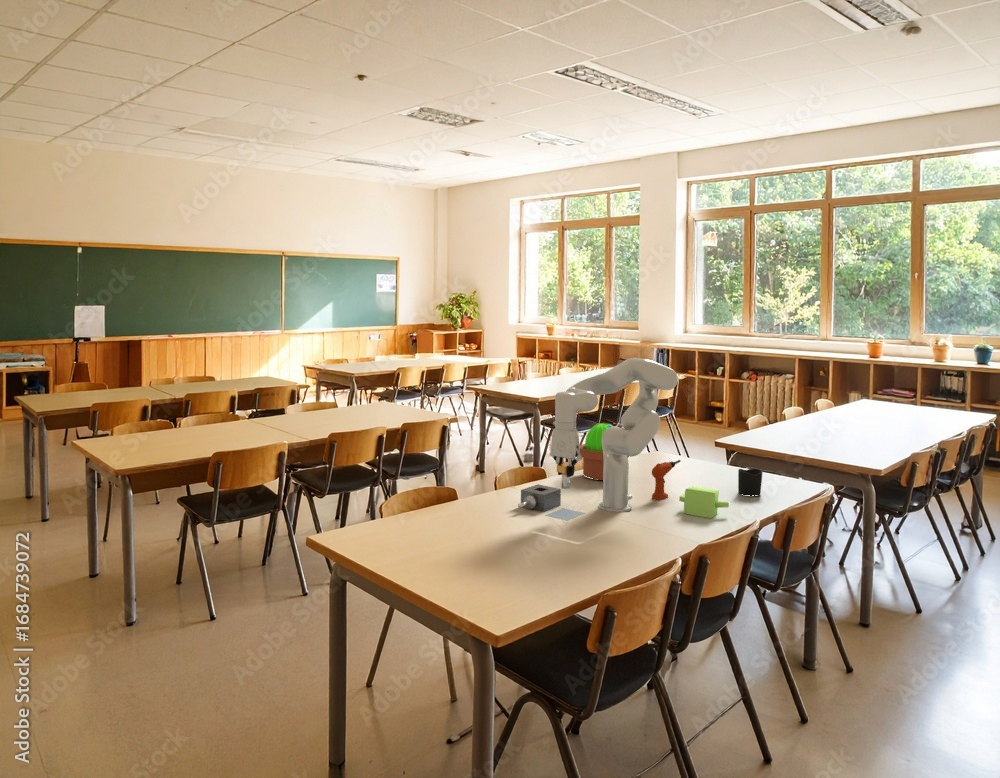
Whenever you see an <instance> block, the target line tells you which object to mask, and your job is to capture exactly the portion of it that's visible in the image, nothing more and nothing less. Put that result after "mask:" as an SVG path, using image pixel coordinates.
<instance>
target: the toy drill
mask: <svg viewBox="0 0 1000 778" xmlns="http://www.w3.org/2000/svg"><path fill="white" fill-rule="evenodd" d="M680 462H682V460H681V459H678V460H676V461H669V462H668V461H667V462H666V461H665V462H662V463H657V464H656V465H655V466H654V467H652V470H651V475H652V477H653V478H654V480H655V488H654V492H653V493H652V495H651V500H654V499H655V500H654V501H663V500H667V499H668V498H669V495H668V493H666V492H665V483H666V480H665V478H664V477H665V476H666V475H667V474H668V473H669V472H670V471H671V470H672V469H673V468H675V467H676V465H677V464H679V463H680ZM666 498H667V499H666ZM662 499H663V500H662Z"/></svg>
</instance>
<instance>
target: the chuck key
mask: <svg viewBox="0 0 1000 778" xmlns="http://www.w3.org/2000/svg"><path fill="white" fill-rule="evenodd" d="M568 466H569V462H568V461H566V462H563V463H562V464H559V465H558V464H556V473H558V472H560V473H562V475H561V489H563V490H569V489H570V488H571V477H568V476H567V472H568ZM575 470H576V464H575V465H574V471H575Z"/></svg>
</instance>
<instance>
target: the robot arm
mask: <svg viewBox="0 0 1000 778" xmlns="http://www.w3.org/2000/svg"><path fill="white" fill-rule="evenodd" d="M678 379H679V377H678V375H677V372H676V371H675V370H674V369H672V368H670V366H669V367H668V366H666V365H663V364H662V363H658V362H656V361H653V360H650V359H648V358H639V357H630V358H627V359H625V360H623V361H621V362H620V363H619V364H617V365H615V366H614V367H611V368H610V369H609V370H607V371H605V372H602V373H599V374H597V375H594V376H591V377H588V378H584V379H583V380H579V382H576V383H574V384H573V385H572V386H570V387H568V389H567V390H566V391H559V392H557V393H556V394H555V395H554V396H555V397H554V400H555V401H554V405H555V406H554V407H555V408H554V409H555V410H554V411H555V415H554V417H555V418H554V419H555V420H554V421H553V422H552V425H553V426H554V427H555V428H553V429H552V434H551V441H550V442H551V443H550V453H549V455H550V457H552V458H553V459H554V461H555V464H556V465H559V464H562V463H564V459H567V462H569V466H568V472H567V476H568V477H570V478H571V477H573V476H575V475H574V474H575V470H574V465H575V466H576V464H577V463H578V462H580V461H581V460H583V458H582V456H581V454H580V445H581V444H580V437H579V431H578V429H577V412H590V411H592V410H594V409H595V408H597V406H598V404H599V397H598V396H600V395H610V394H616V393H618V392H619V391H621V390H622V389H624V388H625V387H627V386H629V385H630V384H632V383H633V382H638V385H639V390H638V391H639V393H638V394H637V396H636V398H635V399H634V400H633V402H632V403H631V404H630V405H629V407H628V408H627V409H626V410H625V411H624V413H623V414H622V416H621V418H620V424H621V426H622V427H620V426H619V427H618V426H614V427H610V428H608V429H606V430H605V431H604V433H603V435H602V448H603V456H604V469H603V481H602V502H599V503H598V509H600V510H603V511H606V512H611V513H623V512H624V513H626V512H627V513H628V512H630V511H631V510H632V509H633V508H632V505H631V504H630V503H629V500H631V499H632V498H633V496H632V494H629V468H630V466H629V465H630V464H629V457H637V456H638V455H640V454H641V453H642V452H643V451H644V450H645V448H646V447H647V446H648V445H649V443H650V442H651V441H652V439H653V438H654V437H655V436H656V435H657V433H658V431H659V429H660V427H661V418H660V415H659V414H658V412H656V409H657V407H658V405H659V394H658V393H659V392H658V390H661V391H671V390H673V389H674V388H675V387H676V386H677V384H678V382H679V380H678ZM627 456H628V457H627ZM557 475H558V476H562V473H560V472H557Z"/></svg>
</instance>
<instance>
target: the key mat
mask: <svg viewBox="0 0 1000 778" xmlns="http://www.w3.org/2000/svg"><path fill="white" fill-rule="evenodd" d="M585 514H586V512H581V511H578V510H574V509H573V510H572V509H568V508H560V509H557V510H555V511H551V512H550V513H547V514H545V516H546V517H550V518H554V519H559V520H563V521H570V520H573V519H574V518H578V517H579V516H582V515H585Z"/></svg>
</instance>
